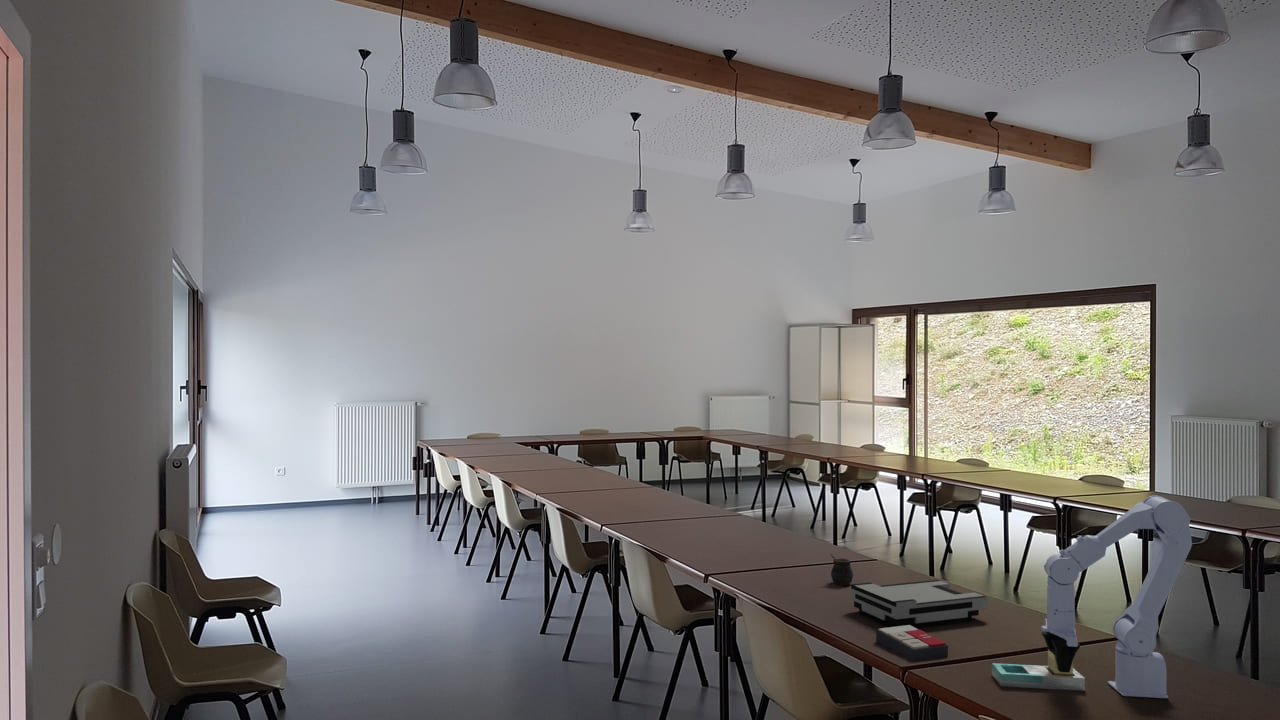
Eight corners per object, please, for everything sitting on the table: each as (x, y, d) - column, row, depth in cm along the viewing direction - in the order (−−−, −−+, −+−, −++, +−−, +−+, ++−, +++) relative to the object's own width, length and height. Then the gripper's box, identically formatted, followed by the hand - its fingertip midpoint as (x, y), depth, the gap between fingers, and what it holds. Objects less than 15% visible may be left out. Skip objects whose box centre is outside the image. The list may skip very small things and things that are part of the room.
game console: (987, 621, 241) (987, 592, 241) (896, 632, 229) (896, 602, 230) (937, 602, 260) (937, 575, 260) (850, 611, 249) (851, 584, 249)
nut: (1065, 676, 194) (1066, 649, 194) (1072, 682, 190) (1073, 655, 190) (1047, 675, 194) (1048, 649, 194) (1054, 681, 190) (1054, 654, 190)
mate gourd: (855, 586, 277) (855, 556, 277) (832, 586, 277) (832, 556, 277) (850, 581, 284) (850, 551, 285) (828, 580, 285) (828, 551, 285)
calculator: (913, 647, 206) (875, 626, 220) (912, 664, 207) (875, 642, 221) (949, 642, 210) (910, 622, 224) (948, 659, 210) (909, 638, 224)
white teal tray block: (1072, 679, 195) (1072, 667, 195) (1084, 690, 188) (1084, 678, 188) (991, 675, 197) (992, 663, 197) (1001, 686, 190) (1001, 673, 190)
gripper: (1031, 599, 200) (1031, 656, 200) (1054, 617, 185) (1053, 678, 185) (1062, 600, 199) (1062, 658, 199) (1087, 618, 185) (1087, 680, 184)
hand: (1060, 668), depth 192 cm, fingers closed on nut, 4 cm apart
